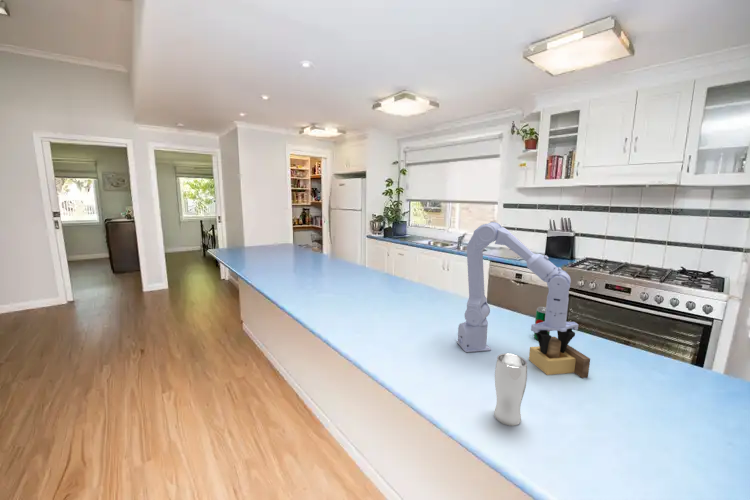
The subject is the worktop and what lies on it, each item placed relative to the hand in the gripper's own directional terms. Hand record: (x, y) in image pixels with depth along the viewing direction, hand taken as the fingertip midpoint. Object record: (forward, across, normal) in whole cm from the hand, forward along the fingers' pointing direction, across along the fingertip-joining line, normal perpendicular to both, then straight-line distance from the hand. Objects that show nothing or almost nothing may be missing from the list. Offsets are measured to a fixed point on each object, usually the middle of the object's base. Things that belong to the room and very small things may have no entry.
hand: (552, 352), depth 101 cm
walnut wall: (+5, +6, 0) cm, 7 cm away
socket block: (+5, 0, 0) cm, 5 cm away
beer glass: (+5, -26, -20) cm, 34 cm away
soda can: (+5, +10, +18) cm, 21 cm away
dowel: (+4, 0, 0) cm, 4 cm away
